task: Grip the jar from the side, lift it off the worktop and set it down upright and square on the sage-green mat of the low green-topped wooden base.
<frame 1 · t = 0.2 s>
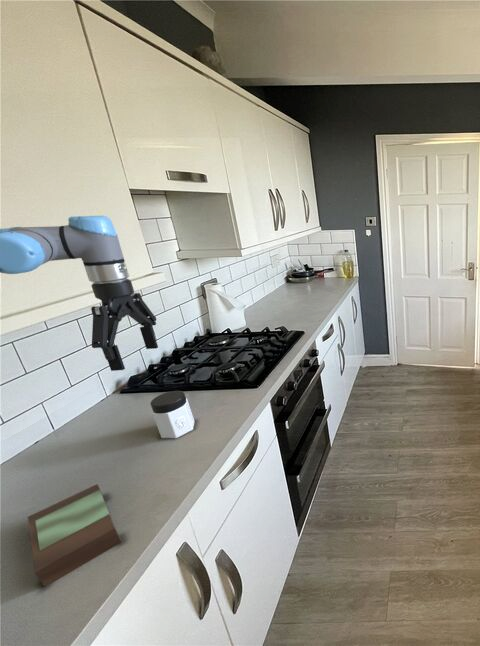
hand: (136, 358, 93), 26 cm above the worktop, tool pointing down, fingers open, 13 cm apart
jar: (179, 432, 105), on the worktop
green-topped wooden base: (79, 539, 72), on the worktop
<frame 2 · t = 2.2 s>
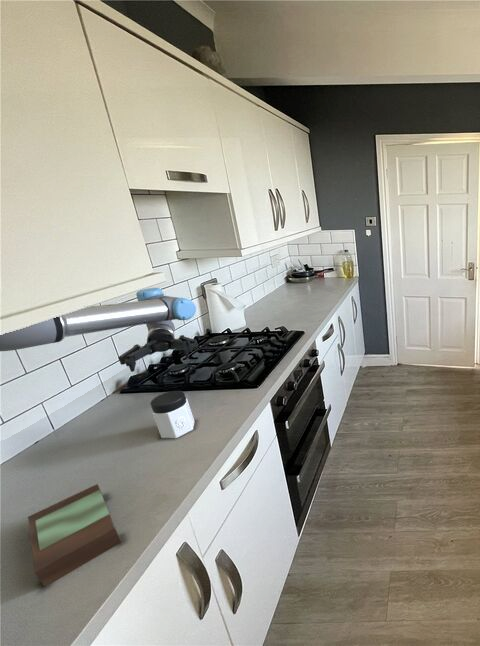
hand: (159, 360, 105), 20 cm above the worktop, tool horizontal, fingers open, 13 cm apart
nothing on the worktop moved.
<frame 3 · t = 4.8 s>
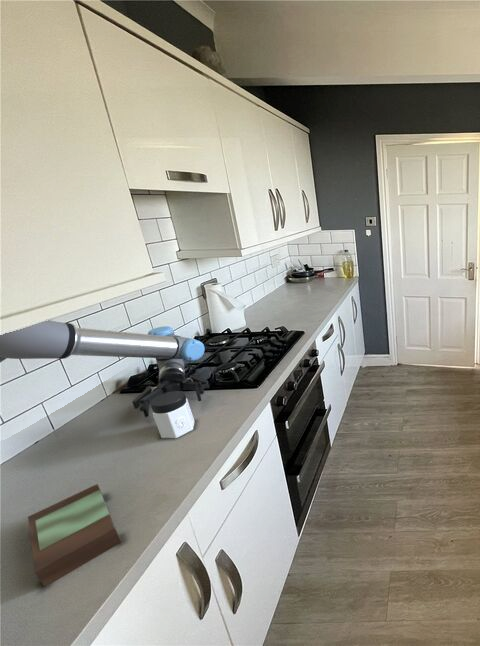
hand: (173, 405, 107), 6 cm above the worktop, tool horizontal, fingers open, 13 cm apart
nothing on the worktop moved.
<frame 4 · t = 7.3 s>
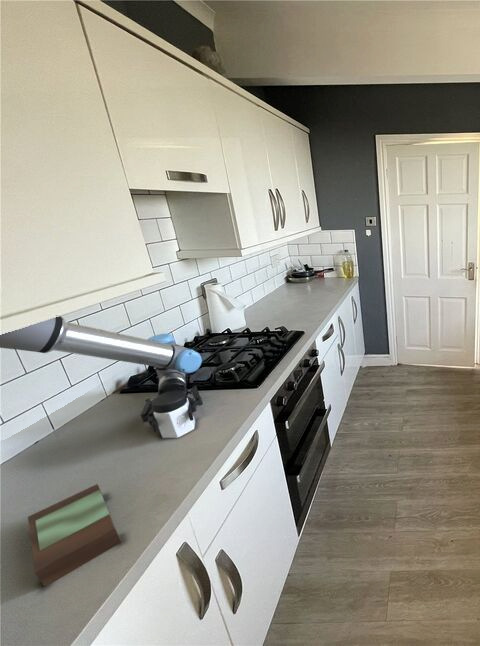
hand: (173, 422, 99), 7 cm above the worktop, tool horizontal, fingers closed on jar, 8 cm apart
jar: (180, 432, 105), on the worktop, touching gripper
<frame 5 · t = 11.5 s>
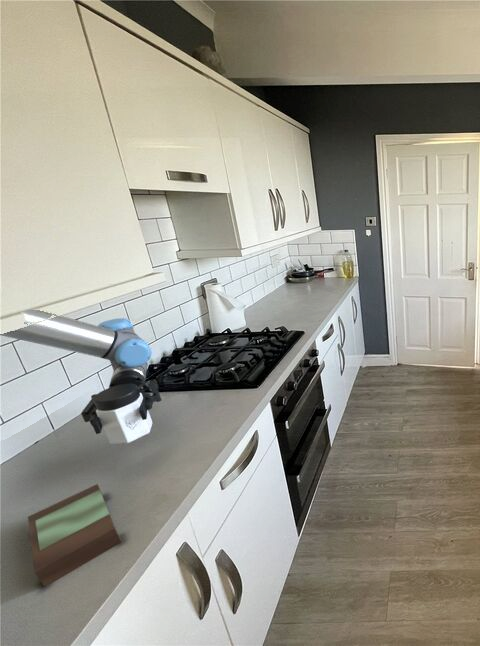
hand: (120, 421, 81), 18 cm above the worktop, tool horizontal, fingers closed on jar, 8 cm apart
jar: (132, 433, 87), point 11 cm above the worktop, touching gripper
when the fingers open (12 cm above the worktop, at t = 16.0 s): jar stays where it is, resting on green-topped wooden base.
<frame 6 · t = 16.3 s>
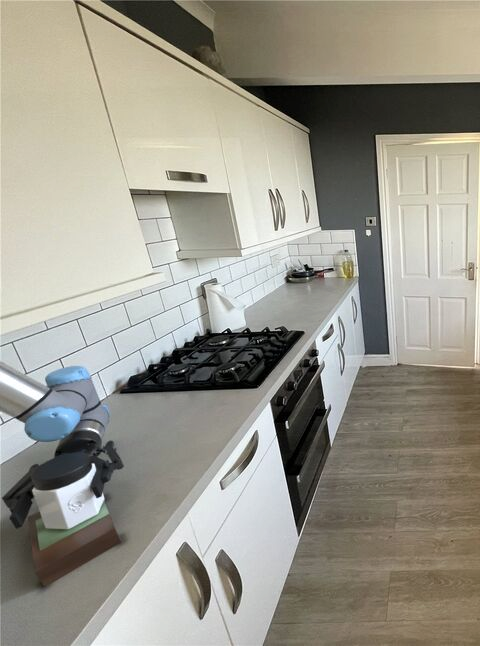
hand: (57, 506, 66), 12 cm above the worktop, tool horizontal, fingers open, 10 cm apart
jar: (77, 514, 72), point 5 cm above the worktop, touching green-topped wooden base
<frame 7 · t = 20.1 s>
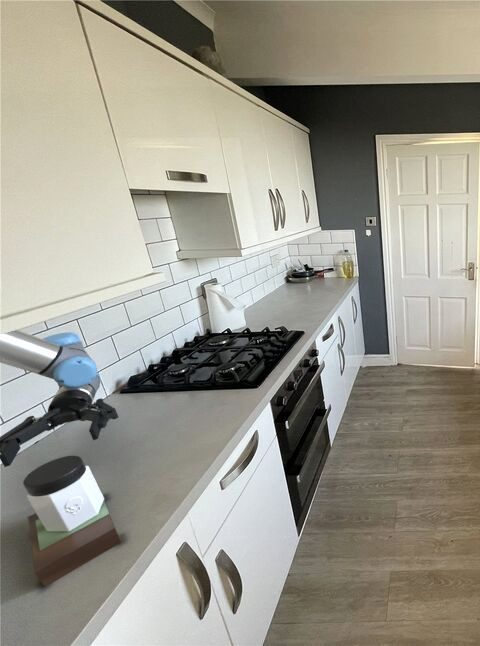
hand: (51, 447, 74), 17 cm above the worktop, tool horizontal, fingers open, 13 cm apart
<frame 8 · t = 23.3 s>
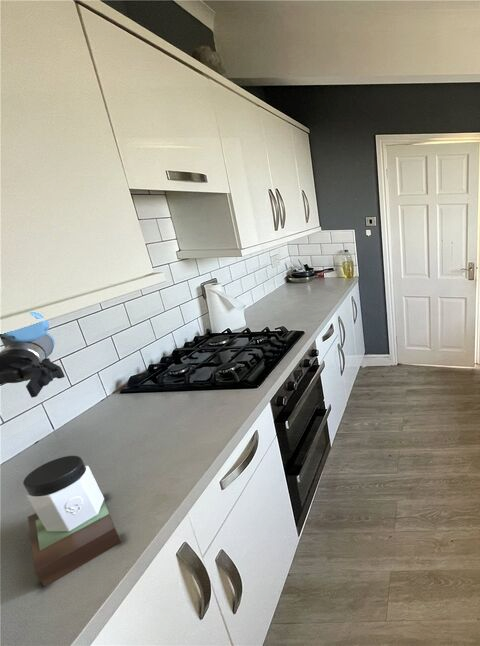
nothing on the worktop moved.
at the end: jar 0.2 cm from the target spot on the green-topped wooden base, point 5.0 cm above the green-topped wooden base's base; jar tilted 0°; the gripper is holding nothing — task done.
